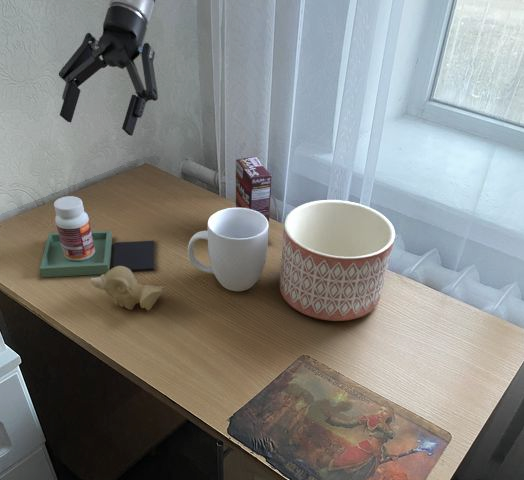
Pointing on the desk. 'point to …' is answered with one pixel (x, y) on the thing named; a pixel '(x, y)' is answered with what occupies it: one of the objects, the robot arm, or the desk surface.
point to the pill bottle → (74, 228)
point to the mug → (234, 247)
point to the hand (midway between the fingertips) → (95, 125)
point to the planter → (335, 259)
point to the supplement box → (253, 186)
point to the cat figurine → (127, 288)
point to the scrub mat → (134, 255)
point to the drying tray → (62, 266)
